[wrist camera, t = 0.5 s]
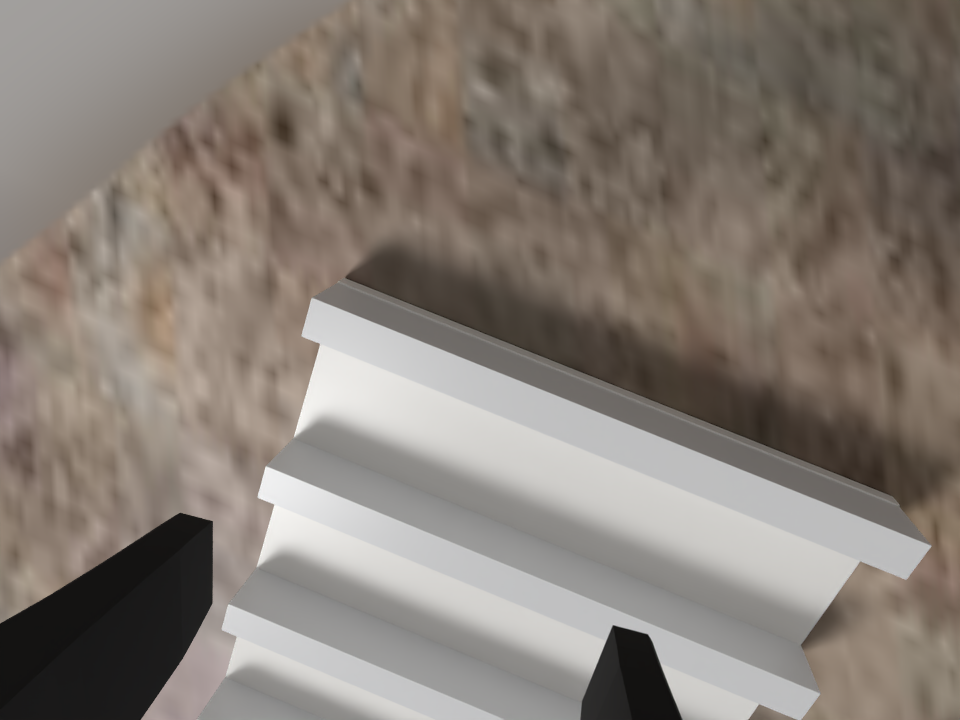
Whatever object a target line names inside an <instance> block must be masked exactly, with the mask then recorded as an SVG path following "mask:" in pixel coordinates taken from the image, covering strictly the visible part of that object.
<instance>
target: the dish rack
mask: <svg viewBox="0 0 960 720" xmlns="http://www.w3.org/2000/svg"><path fill="white" fill-rule="evenodd" d="M302 337H304V338H307V339H309V340H312V341H314V342H317V343H319V344H320V348H319V351H318V355H317V358H316V362H315V365H314V369H313V372H312V376H311V379H310V383H309V386H308V390H307V393H306V397H305V400H304V404H303V407H302V411H301V414H300V418H299V421H298V425H297V428H296V432H295V435H294V438H293V439H292V440H291V441H290V442H289V443H288V444H287V445H286V446H285V447H284V448H283V449H282V451H281V452H280V453H279V454H278V455H277V456H276V457H275V458H274V459H273V460H272V461H271V462H270V463H269V464H268V465H267V466H266V468H265V472H264V476H263V479H262V483H261V487H260V490H259V494H258V498H260V499H262V500H265V501H267V502H270V503H272V504H275V505H274V509H273V512H272V516H271V519H270V523H269V526H268V530H267V533H266V537H265V540H264V544H263V547H262V551H261V554H260V558H259V561H258V565H257V568H256V569H255V571H254V572H253V573H252V574H251V576H250V577H249V578H248V580H247V581H246V582H245V583H244V585H243V586H242V587H241V589H240V590H239V591H238V592H237V594H236V595H235V596H234V598H233V599H232V600H231V601H230V603H229V604H228V608H227V611H226V615H225V619H224V622H223V626H222V630H223V631H225V632H228V633H230V634H232V635H235V636H237V639H236V642H235V646H234V649H233V653H232V656H231V660H230V663H229V667H228V670H227V674H226V677H225V679H224V680H223V682H222V683H221V685H220V686H219V687H218V689H217V690H216V692H215V693H214V695H213V696H212V698H211V699H210V701H209V702H208V704H207V705H206V707H205V708H204V710H203V711H202V713H201V714H200V716H199V717H198V719H197V720H580V717H581V705H582V700H583V697H584V695H585V692H586V690H587V687H588V685H589V682H590V680H591V678H592V675H593V673H594V670H595V668H596V665H597V663H598V660H599V658H600V655H601V653H602V650H603V648H604V645H605V643H606V640H607V638H608V636H609V633H610V631H611V628H612V626H613V625H615V626H618V627H622V628H626V629H630V630H634V631H638V632H642V633H645V634H648V635H649V637H650V638H651V640H652V642H653V645H654V648H655V650H656V653H657V656H658V659H659V661H660V664H661V667H662V669H663V672H664V674H665V677H666V680H667V682H668V685H669V687H670V690H671V692H672V695H673V697H674V700H675V702H676V705H677V707H678V710H679V712H680V714H681V717H682V719H683V720H748V719H749V718H750V716H751V715H752V713H753V712H754V710H755V709H756V708H757V706H758V705H759V704H760V705H763V706H765V707H767V708H770V709H772V710H775V711H777V712H780V713H782V714H784V715H787V716H789V717H792V718H794V719H797V720H801V719H802V718H803V717H804V715H805V714H806V713H807V711H808V710H809V709H810V707H811V706H812V705H813V703H814V702H815V701H816V699H817V698H818V697H819V695H820V694H821V693H820V691H819V688H818V686H817V683H816V681H815V679H814V676H813V674H812V671H811V669H810V666H809V664H808V661H807V659H806V657H805V654H804V652H803V649H802V647H801V644H802V643H803V641H804V640H805V639H806V637H807V636H808V634H809V633H810V632H811V630H812V629H813V627H814V626H815V624H816V623H817V622H818V620H819V619H820V617H821V616H822V615H823V613H824V612H825V610H826V609H827V608H828V606H829V605H830V603H831V602H832V600H833V599H834V598H835V596H836V595H837V593H838V592H839V591H840V589H841V588H842V586H843V585H844V584H845V582H846V581H847V579H848V578H849V577H850V575H851V574H852V572H853V571H854V569H855V568H856V567H857V565H858V564H859V562H860V561H861V562H863V563H866V564H868V565H871V566H873V567H876V568H878V569H881V570H883V571H886V572H888V573H891V574H893V575H896V576H898V577H901V578H903V579H907V578H908V577H909V575H910V574H911V573H912V571H913V570H914V569H915V567H916V566H917V565H918V563H919V562H920V561H921V559H922V558H923V557H924V555H925V554H926V553H927V551H928V550H929V549H930V547H931V544H930V543H929V542H928V541H927V540H926V538H925V537H924V536H923V535H922V534H921V532H920V531H919V530H918V529H917V528H916V526H915V525H914V524H913V523H912V521H911V520H910V519H909V518H908V517H907V515H906V514H905V513H904V512H903V511H902V509H901V508H900V507H899V506H900V504H899V503H898V502H897V501H896V500H895V498H894V497H893V496H890V495H888V494H885V493H883V492H880V491H878V490H875V489H873V488H870V487H868V486H865V485H863V484H860V483H858V482H855V481H853V480H850V479H848V478H845V477H843V476H840V475H838V474H835V473H833V472H830V471H828V470H825V469H823V468H820V467H818V466H815V465H813V464H810V463H808V462H805V461H803V460H800V459H798V458H795V457H793V456H790V455H788V454H785V453H783V452H780V451H778V450H775V449H772V448H770V447H767V446H765V445H762V444H760V443H757V442H755V441H752V440H750V439H747V438H745V437H742V436H740V435H737V434H735V433H732V432H730V431H727V430H725V429H722V428H720V427H717V426H715V425H712V424H710V423H707V422H705V421H702V420H700V419H697V418H695V417H692V416H690V415H687V414H685V413H682V412H680V411H677V410H675V409H672V408H670V407H667V406H665V405H662V404H660V403H657V402H655V401H652V400H650V399H647V398H645V397H642V396H640V395H637V394H635V393H632V392H630V391H627V390H625V389H622V388H619V387H617V386H614V385H612V384H609V383H607V382H604V381H602V380H599V379H597V378H594V377H592V376H589V375H587V374H584V373H582V372H579V371H577V370H574V369H572V368H569V367H567V366H564V365H562V364H559V363H557V362H554V361H552V360H549V359H547V358H544V357H542V356H539V355H537V354H534V353H532V352H529V351H527V350H524V349H522V348H519V347H517V346H514V345H512V344H509V343H507V342H504V341H502V340H499V339H497V338H494V337H492V336H489V335H487V334H484V333H482V332H479V331H477V330H474V329H471V328H469V327H466V326H464V325H461V324H459V323H456V322H454V321H451V320H449V319H446V318H444V317H441V316H439V315H436V314H434V313H431V312H429V311H426V310H424V309H421V308H419V307H416V306H414V305H411V304H409V303H406V302H404V301H401V300H399V299H396V298H394V297H391V296H389V295H386V294H384V293H381V292H379V291H376V290H374V289H371V288H369V287H366V286H364V285H361V284H359V283H356V282H354V281H351V280H349V279H346V278H343V279H341V280H339V281H338V283H336V284H335V285H333V286H331V287H330V288H328V289H326V290H324V291H323V292H321V293H319V294H317V295H316V296H314V297H312V299H311V303H310V306H309V310H308V314H307V317H306V321H305V325H304V329H303V332H302Z"/></svg>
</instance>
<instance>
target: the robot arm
mask: <svg viewBox="0 0 960 720" xmlns="http://www.w3.org/2000/svg"><path fill="white" fill-rule="evenodd" d="M212 589H213V521H210V520H206V519H202V518H198V517H194V516H190V515H187V514H183V513H179V514H177V515H175V516H174V517H172V518H171V519H169V520H167V521H166V522H164V523H163V524H161V525H160V526H158V527H157V528H155V529H153V530H152V531H150V532H149V533H147V534H146V535H144V536H143V537H141V538H140V539H138V540H137V541H135V542H134V543H132V544H130V545H129V546H127V547H126V548H124V549H123V550H121V551H120V552H118V553H117V554H115V555H113V556H112V557H110V558H109V559H107V560H106V561H104V562H103V563H101V564H99V565H98V566H96V567H95V568H93V569H91V570H90V571H88V572H87V573H85V574H83V575H82V576H80V577H78V578H77V579H75V580H74V581H72V582H70V583H69V584H67V585H66V586H64V587H62V588H61V589H59V590H58V591H56V592H54V593H53V594H51V595H49V596H47V597H46V598H44V599H42V600H41V601H39V602H37V603H35V604H34V605H32V606H30V607H28V608H27V609H25V610H23V611H21V612H20V613H18V614H16V615H14V616H13V617H11V618H9V619H7V620H6V621H4V622H2V623H0V720H141V718H142V717H143V716H144V714H145V713H146V711H147V710H148V708H149V707H150V705H151V704H152V703H153V701H154V700H155V698H156V697H157V695H158V694H159V692H160V691H161V690H162V688H163V687H164V685H165V684H166V682H167V681H168V679H169V678H170V676H171V675H172V674H173V672H174V671H175V669H176V668H177V666H178V665H179V663H180V662H181V660H182V659H183V657H184V655H185V653H186V652H187V650H188V648H189V646H190V644H191V643H192V641H193V639H194V637H195V635H196V634H197V632H198V630H199V628H200V626H201V624H202V622H203V620H204V618H205V616H206V615H207V613H208V611H209V609H210V607H211V605H212ZM580 720H683V719H682V717H681V714H680V712H679V710H678V707H677V705H676V702H675V700H674V697H673V695H672V692H671V690H670V687H669V685H668V682H667V680H666V677H665V674H664V672H663V669H662V667H661V664H660V661H659V659H658V656H657V653H656V650H655V648H654V645H653V642H652V640H651V638H650V637H649V635H648V634H645V633H642V632H638V631H634V630H630V629H626V628H622V627H618V626H615V625H613V626H612V628H611V631H610V633H609V636H608V638H607V640H606V643H605V645H604V648H603V650H602V653H601V655H600V658H599V660H598V663H597V665H596V668H595V670H594V673H593V675H592V678H591V680H590V682H589V685H588V687H587V690H586V692H585V695H584V697H583V700H582V705H581V717H580Z"/></svg>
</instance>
